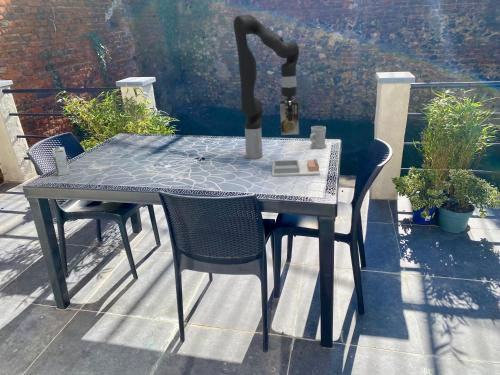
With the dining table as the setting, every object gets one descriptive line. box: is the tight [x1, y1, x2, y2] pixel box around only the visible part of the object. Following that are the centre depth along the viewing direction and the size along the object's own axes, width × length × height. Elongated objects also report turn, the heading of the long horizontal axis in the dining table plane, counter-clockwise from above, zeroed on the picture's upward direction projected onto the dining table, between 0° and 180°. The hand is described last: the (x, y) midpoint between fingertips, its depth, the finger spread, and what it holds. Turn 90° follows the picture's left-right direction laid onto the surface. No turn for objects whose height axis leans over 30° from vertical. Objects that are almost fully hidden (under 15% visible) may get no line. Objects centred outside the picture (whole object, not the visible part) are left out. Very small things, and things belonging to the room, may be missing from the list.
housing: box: [271, 159, 321, 178], centre depth 205 cm, size 24×16×4 cm
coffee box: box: [279, 99, 300, 136], centre depth 200 cm, size 9×6×16 cm
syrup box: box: [51, 146, 70, 177], centre depth 217 cm, size 6×6×14 cm
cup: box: [309, 125, 327, 150], centre depth 239 cm, size 10×9×12 cm
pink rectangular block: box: [306, 158, 320, 172], centre depth 204 cm, size 5×10×3 cm, turn 177°
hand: (289, 119), depth 200 cm, fingers closed on coffee box, 6 cm apart
